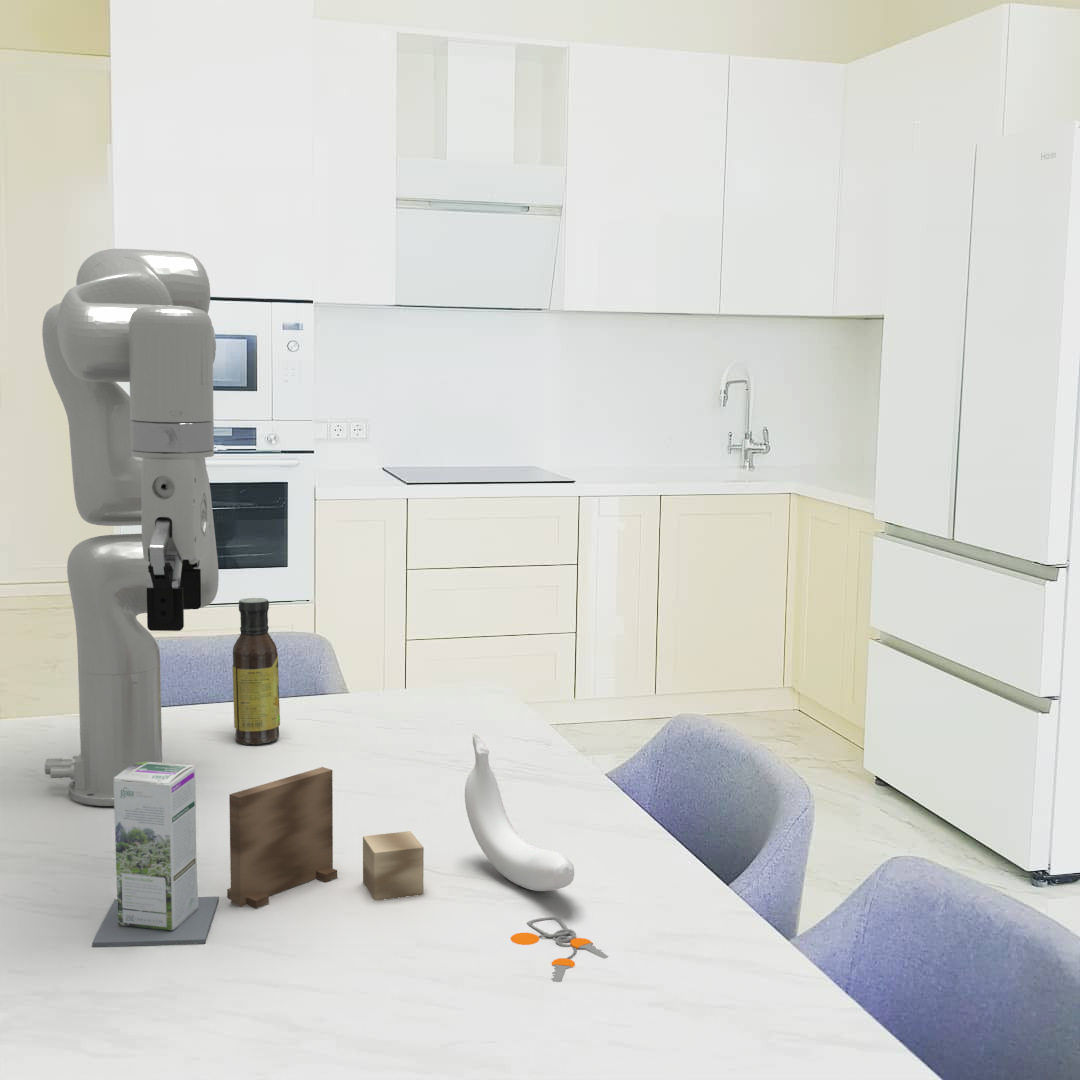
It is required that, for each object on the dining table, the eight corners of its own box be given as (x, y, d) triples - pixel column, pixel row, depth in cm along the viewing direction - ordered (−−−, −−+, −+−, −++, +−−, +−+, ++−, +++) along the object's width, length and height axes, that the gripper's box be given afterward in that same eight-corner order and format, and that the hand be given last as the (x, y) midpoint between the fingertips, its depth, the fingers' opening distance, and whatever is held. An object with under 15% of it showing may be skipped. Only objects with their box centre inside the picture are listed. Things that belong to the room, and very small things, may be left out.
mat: (92, 946, 122) (91, 942, 122) (114, 903, 132) (114, 899, 132) (205, 943, 124) (204, 939, 123) (219, 900, 133) (219, 896, 133)
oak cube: (374, 901, 134) (374, 853, 133) (363, 883, 139) (362, 836, 138) (423, 895, 136) (423, 847, 135) (410, 877, 140) (410, 831, 140)
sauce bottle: (288, 740, 189) (287, 600, 187) (249, 749, 185) (248, 605, 182) (263, 731, 194) (261, 594, 191) (224, 739, 189) (222, 599, 187)
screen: (250, 910, 131) (248, 800, 130) (221, 899, 134) (219, 791, 132) (342, 875, 140) (342, 772, 139) (313, 865, 143) (313, 764, 142)
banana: (559, 922, 130) (561, 773, 128) (449, 862, 145) (450, 728, 143) (598, 910, 132) (601, 765, 131) (487, 852, 147) (488, 721, 146)
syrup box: (200, 908, 130) (197, 762, 128) (172, 933, 125) (169, 780, 123) (145, 903, 131) (142, 757, 130) (115, 927, 126) (111, 776, 124)
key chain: (494, 930, 128) (494, 921, 128) (564, 918, 131) (565, 910, 131) (550, 987, 117) (550, 978, 117) (625, 973, 120) (625, 964, 120)
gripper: (198, 448, 119) (200, 639, 121) (226, 434, 136) (228, 601, 138) (110, 447, 118) (114, 639, 121) (150, 432, 135) (153, 600, 138)
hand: (175, 618), depth 130 cm, fingers open, 9 cm apart
